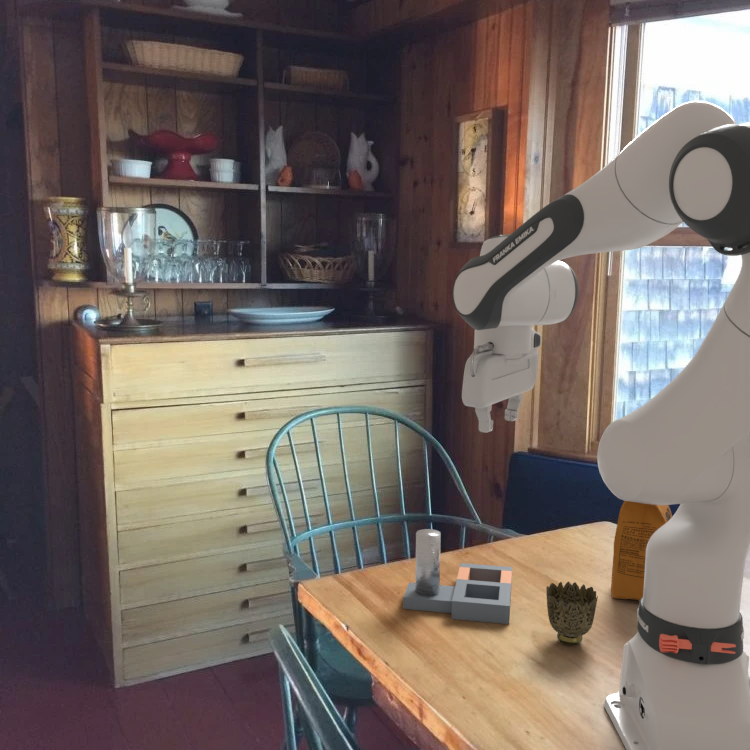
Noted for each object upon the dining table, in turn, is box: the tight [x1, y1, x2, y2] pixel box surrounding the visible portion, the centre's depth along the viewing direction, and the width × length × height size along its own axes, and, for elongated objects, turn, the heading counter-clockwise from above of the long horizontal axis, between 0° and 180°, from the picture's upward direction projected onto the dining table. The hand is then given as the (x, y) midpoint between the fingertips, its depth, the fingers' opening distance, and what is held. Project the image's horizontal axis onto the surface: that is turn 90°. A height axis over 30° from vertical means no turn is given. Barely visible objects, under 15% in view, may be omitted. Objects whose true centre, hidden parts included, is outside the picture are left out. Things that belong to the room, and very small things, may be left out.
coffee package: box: [610, 500, 673, 602], centre depth 135 cm, size 10×12×22 cm
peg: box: [414, 528, 442, 597], centre depth 131 cm, size 4×4×10 cm
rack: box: [402, 562, 513, 625], centre depth 133 cm, size 16×17×3 cm
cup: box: [545, 581, 599, 647], centre depth 118 cm, size 8×7×8 cm
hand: (498, 425), depth 127 cm, fingers open, 8 cm apart
